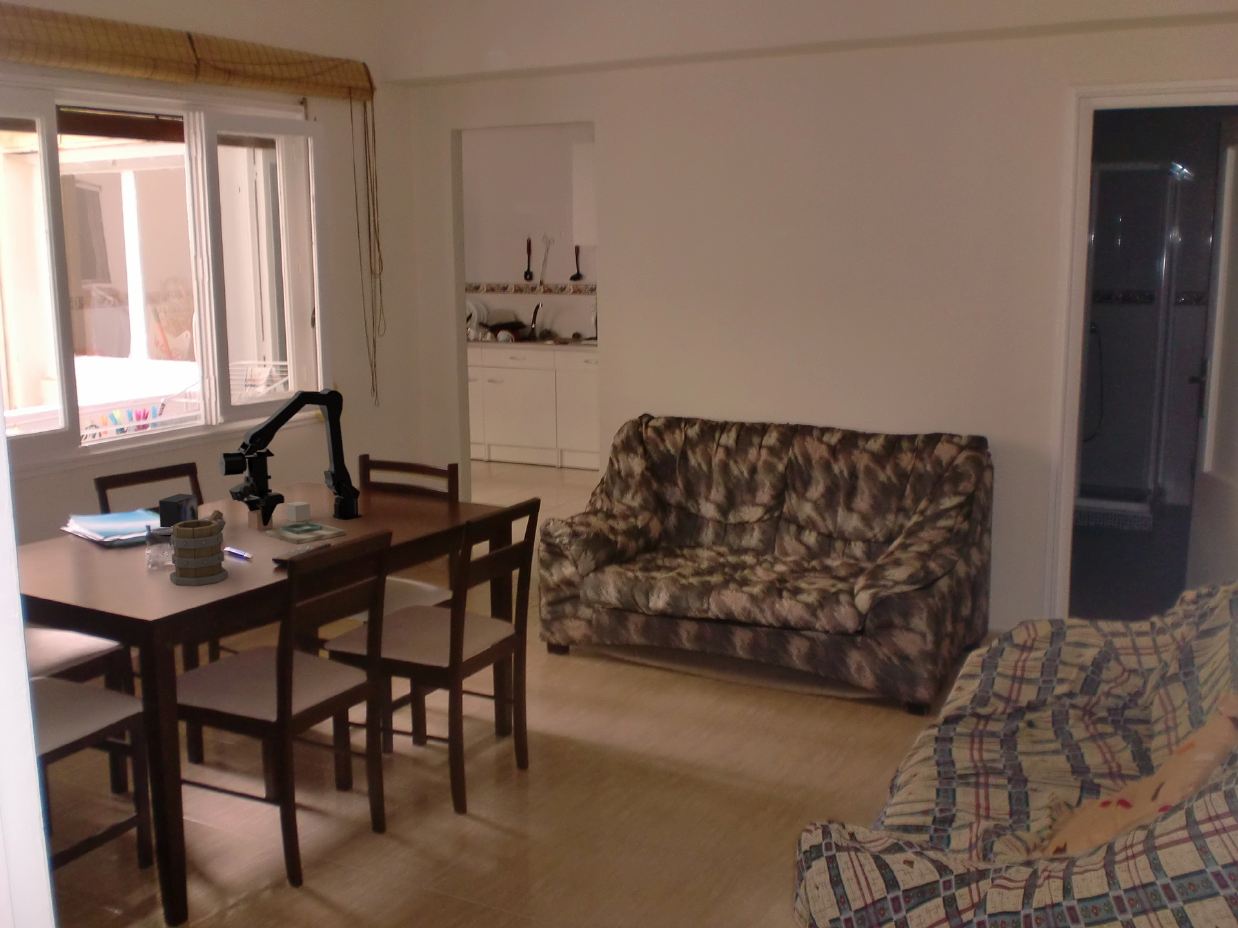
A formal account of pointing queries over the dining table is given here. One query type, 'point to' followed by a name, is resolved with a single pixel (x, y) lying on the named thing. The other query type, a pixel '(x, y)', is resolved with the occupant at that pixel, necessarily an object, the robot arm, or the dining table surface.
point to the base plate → (305, 532)
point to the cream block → (298, 511)
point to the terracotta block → (258, 521)
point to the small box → (178, 509)
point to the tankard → (198, 552)
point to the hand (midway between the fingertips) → (260, 524)
